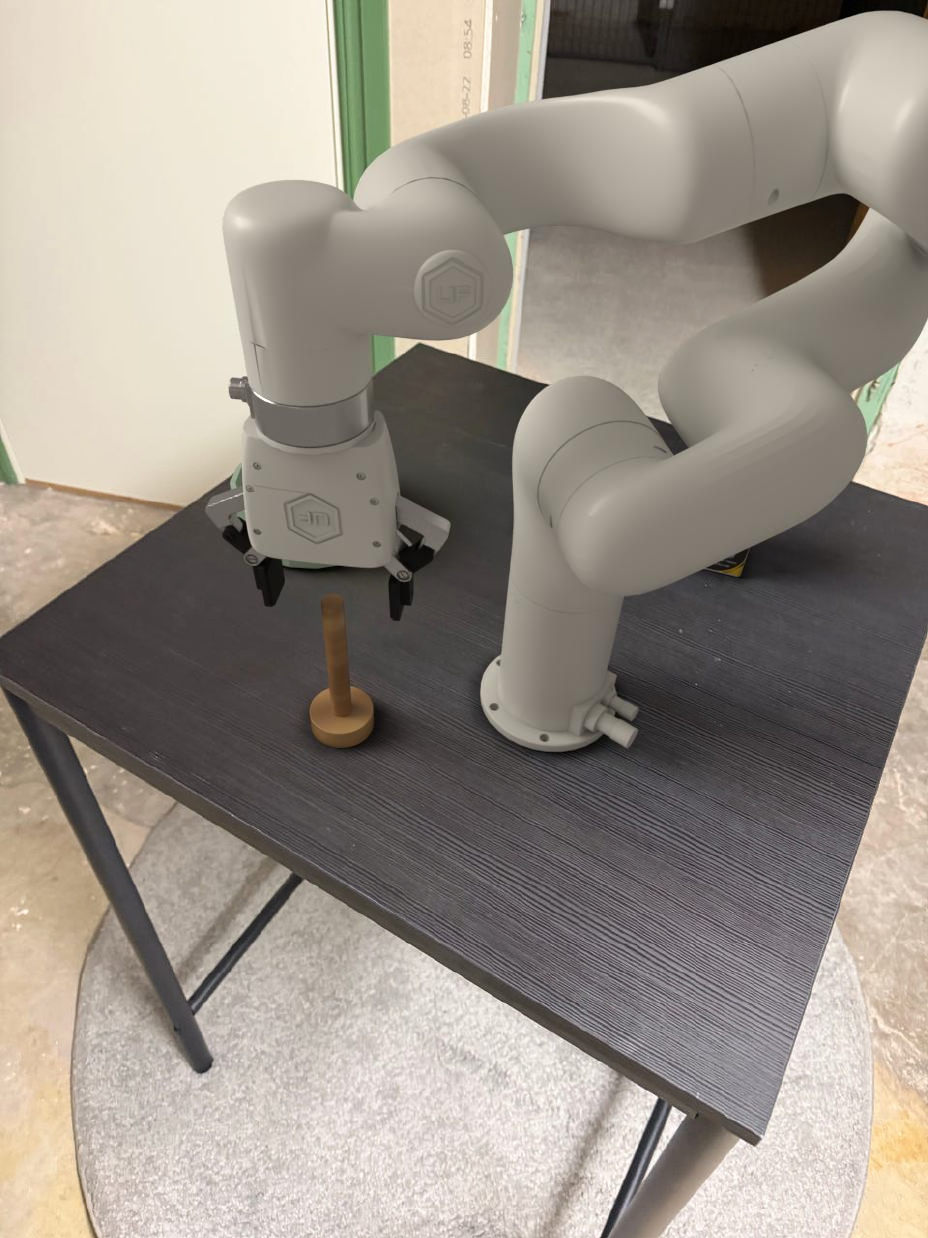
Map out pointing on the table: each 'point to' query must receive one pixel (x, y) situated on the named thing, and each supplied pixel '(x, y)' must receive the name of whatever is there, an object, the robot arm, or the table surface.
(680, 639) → the table surface
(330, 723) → the wooden mushroom stand
